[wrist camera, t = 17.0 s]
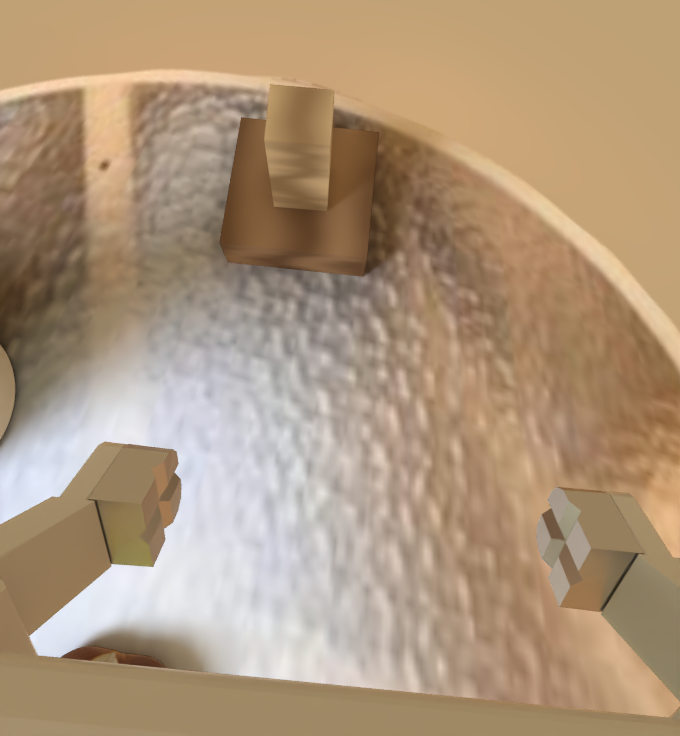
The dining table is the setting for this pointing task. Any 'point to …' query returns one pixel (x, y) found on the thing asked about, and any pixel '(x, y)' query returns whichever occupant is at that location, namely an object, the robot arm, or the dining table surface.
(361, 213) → the walnut base block
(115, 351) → the dining table surface
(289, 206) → the maple block
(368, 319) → the dining table surface
